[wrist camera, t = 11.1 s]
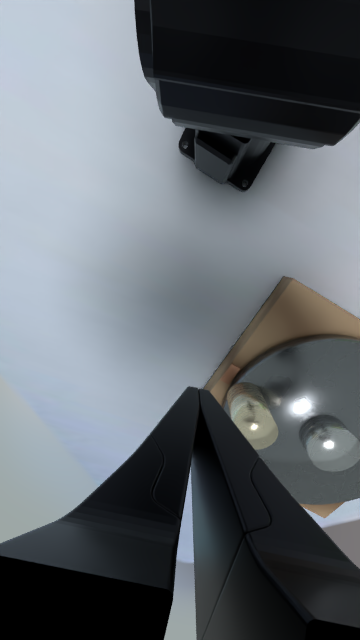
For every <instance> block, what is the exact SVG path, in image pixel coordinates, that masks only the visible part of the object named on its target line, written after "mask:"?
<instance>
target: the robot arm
mask: <svg viewBox="0 0 360 640" xmlns="http://www.w3.org/2000/svg"><path fill="white" fill-rule="evenodd" d="M134 2H135V19H136V32H137V40H138V49H139V55H140V61H141V66H142V70H143V73H144V77H145V79H146V80H147V82H148V83H149V84H150V86H151V87H152V88H153V89H154V90H155V91H156V95H157V101H158V105H159V109H160V111H161V113H162V114H163V116H164V118H169V119H172V122H173V123H174V124H175V125H176V126H180V127H186V128H185V130H184V132H183V134H182V137H181V139H180V141H179V150H180V152H181V153H182V154H183V155H185V156H186V157H188V158H189V159H191V160H193V161H194V162H195V166H196V168H197V169H199V170H200V171H202V172H203V173H205V174H207V175H208V176H210V177H211V178H213V179H214V180H216V181H218V182H219V183H221V184H223V183H226V182H227V183H228V184H230V185H232V186H233V187H235V188H236V189H238V190H239V191H242V192H245V191H247V190H248V189H249V188H250V186H251V185H252V183H253V181H254V180H255V178H256V176H257V174H258V173H259V171H260V169H261V168H262V166H263V164H264V162H265V161H266V159H267V157H268V156H269V154H270V152H271V151H272V149H273V147H274V145H275V144H276V143H280V144H286V145H292V146H297V147H303V148H309V149H316V148H320V147H323V146H324V145H328V146H334V145H335V144H337V143H338V142H339V141H341V140H342V139H343V138H344V137H345V136H347V135H348V134H349V133H350V132H351V131H352V130H353V129H354V128H355V127H356V126H357V125H358V124H359V123H360V0H134ZM185 143H186V144H188V147H187V148H186V149H184V148H183V147H182V145H183V144H185ZM244 181H245V182H246V183H247V186H246V187H243V186H242V182H244ZM190 467H191V483H192V513H193V543H194V571H195V572H194V573H195V603H196V634H197V640H360V569H359V568H358V567H357V566H356V565H355V564H354V563H353V562H352V561H351V560H350V559H349V558H348V557H347V556H346V555H345V554H344V553H343V552H342V551H341V549H340V548H339V547H338V546H337V545H336V544H335V543H334V542H333V541H332V540H331V538H330V537H329V536H328V535H327V534H326V533H325V532H324V531H323V530H322V528H321V527H320V526H319V525H318V524H317V523H316V522H315V521H314V520H313V518H312V517H311V516H310V515H309V514H308V513H307V512H306V511H305V510H304V508H303V507H302V506H301V505H300V504H299V503H298V502H297V501H296V499H295V498H294V497H293V496H292V495H291V494H290V493H289V491H288V490H287V489H286V488H285V487H284V486H283V485H282V483H281V482H280V481H279V480H278V478H277V477H276V476H275V475H274V473H273V472H272V471H271V470H270V468H269V467H268V466H267V465H266V463H265V462H264V461H263V459H262V458H261V457H259V454H258V453H257V452H256V451H255V449H254V448H253V447H252V445H251V444H250V443H249V441H248V440H247V439H246V438H245V436H244V435H243V434H242V432H241V431H240V430H239V429H238V427H237V426H236V425H235V423H234V422H233V421H232V419H231V418H230V417H229V416H228V414H227V413H226V412H225V410H224V409H223V408H222V407H221V405H220V404H219V403H218V401H217V400H216V399H215V397H214V396H213V395H212V394H211V392H210V391H209V390H205V389H199V390H198V388H195V387H190V386H189V387H187V388H186V390H185V391H184V392H183V393H182V395H181V396H180V397H179V398H178V400H177V401H176V402H175V403H174V405H173V406H172V407H171V408H170V410H169V411H168V412H167V413H166V415H165V416H164V417H163V418H162V419H161V421H160V422H159V423H158V424H157V426H156V427H155V428H154V429H153V431H152V432H151V433H150V435H149V436H148V437H147V438H146V439H145V440H144V442H143V443H142V444H141V445H140V446H139V447H138V449H137V450H136V451H135V452H134V453H133V454H132V455H131V456H130V457H129V458H128V459H127V460H126V461H125V462H124V463H123V464H122V465H121V466H120V467H119V468H118V469H117V470H116V471H115V472H114V473H113V474H112V475H111V476H110V477H109V478H107V479H106V480H105V481H104V482H103V483H102V484H101V485H100V486H99V487H98V488H97V489H96V490H95V491H94V492H93V493H91V495H89V497H87V498H86V499H85V500H84V501H83V502H82V503H81V504H80V505H78V506H77V507H76V508H75V509H74V510H72V511H71V512H69V513H68V514H67V515H65V516H64V517H62V518H61V519H58V520H57V521H55V522H52V523H50V524H47V525H45V526H42V527H40V528H37V529H35V530H32V531H30V532H27V533H25V534H22V535H20V536H18V537H15V538H13V539H10V540H8V541H5V542H3V543H0V640H164V636H165V632H166V627H167V623H168V619H169V615H170V610H171V606H172V601H173V591H174V580H175V568H176V556H177V548H178V540H179V534H180V527H181V521H182V515H183V509H184V503H185V497H186V491H187V485H188V479H189V473H190Z"/></svg>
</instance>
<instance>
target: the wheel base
mask: <svg viewBox="0 0 360 640" xmlns="http://www.w3.org/2000/svg"><path fill="white" fill-rule="evenodd" d="M323 334H327V335H344V336H352V337H356V338H360V319H358V318H357V317H355V316H354V315H352V314H350V313H349V312H347V311H345V310H344V309H342V308H341V307H339V306H337V305H336V304H334V303H332V302H331V301H329V300H328V299H326V298H324V297H323V296H321V295H319V294H318V293H316V292H315V291H313V290H311V289H310V288H308V287H306V286H305V285H303V284H302V283H300V282H298V281H297V280H295V279H293V278H289V277H285V276H284V277H283V278H282V280H281V281H280V282H279V284H278V285H277V287H276V288H275V289H274V291H273V292H272V294H271V295H270V296H269V298H268V299H267V300H266V302H265V303H264V305H263V306H262V307H261V309H260V310H259V312H258V313H257V314H256V316H255V317H254V319H253V320H252V321H251V323H250V324H249V326H248V327H247V328H246V330H245V331H244V333H243V334H242V335H241V337H240V338H239V340H238V341H237V342H236V344H235V345H234V347H233V348H232V349H231V351H230V352H229V354H228V355H227V356H226V358H225V359H224V360H223V362H222V363H221V365H220V366H219V367H218V369H217V370H216V372H215V373H214V374H213V376H212V377H211V379H210V380H209V381H208V383H207V384H206V386H205V387H204V388H203V389H205V390H209V391H210V392H211V394H212V395H213V396H214V397H215V399H216V400H217V401H218V403H219V404H220V405H221V406H222V402H223V399H224V397H225V394H226V392H227V390H228V388H229V386H230V384H231V383H232V381H233V380H234V379H235V377H236V376H237V375H238V373H239V372H240V371H241V370H242V369H243V368H244V367H245V366H246V365H247V364H249V363H250V362H251V361H252V360H254V359H255V358H256V357H257V356H259V355H261V354H262V353H264V352H266V351H267V350H269V349H271V348H273V347H275V346H277V345H279V344H282V343H285V342H288V341H291V340H294V339H297V338H302V337H307V336H313V335H323ZM343 503H344V502H341V503H334V504H325V505H309V504H300V505H301V506H302V507H304V508H306V509H308V510H310V511H312V512H314V513H315V514H317V515H319V516H321V517H323V518H326V517H327V516H328V515H329V514H331V513H332V512H333V511H334V510H336V509H337V508H338V507H339V506H340V505H342V504H343Z"/></svg>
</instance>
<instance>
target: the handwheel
mask: <svg viewBox="0 0 360 640" xmlns="http://www.w3.org/2000/svg"><path fill="white" fill-rule="evenodd" d="M221 407H222V408H223V409H224V410H225V412H226V413H227V414H228V416H229V417H230V418H231V419H232V421H233V422H234V423H235V425H236V426H237V427H238V429H239V430H240V431H241V432H242V434H243V435H244V436H245V438H246V439H247V440H248V441H249V443H250V444H251V445H252V447H253V448H254V449H255V451H256V452H257V453H258V454H259V457H261V458H262V459H263V461H264V462H265V463H266V465H267V466H268V467H269V468H270V470H271V471H272V472H273V473H274V475H275V476H276V477H277V478H278V480H279V481H280V482H281V483H282V485H283V486H284V487H285V488H286V489H287V490H288V491H289V493H290V494H291V495H292V496H293V497H294V498H295V499H296V501H297V502H298V503H299V504H309V505H325V504H334V503H341V502H346V501H350V500H354V499H357V498H360V338H356V337H352V336H344V335H327V334H323V335H313V336H307V337H302V338H297V339H294V340H291V341H288V342H285V343H282V344H279V345H277V346H275V347H273V348H271V349H269V350H267V351H266V352H264V353H262V354H261V355H259V356H257V357H256V358H255V359H254V360H252V361H251V362H250V363H249V364H247V365H246V366H245V367H244V368H243V369H242V370H241V371H240V372H239V373H238V375H237V376H236V377H235V379H234V380H233V381H232V383H231V384H230V386H229V388H228V390H227V392H226V394H225V397H224V399H223V402H222V406H221Z"/></svg>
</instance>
